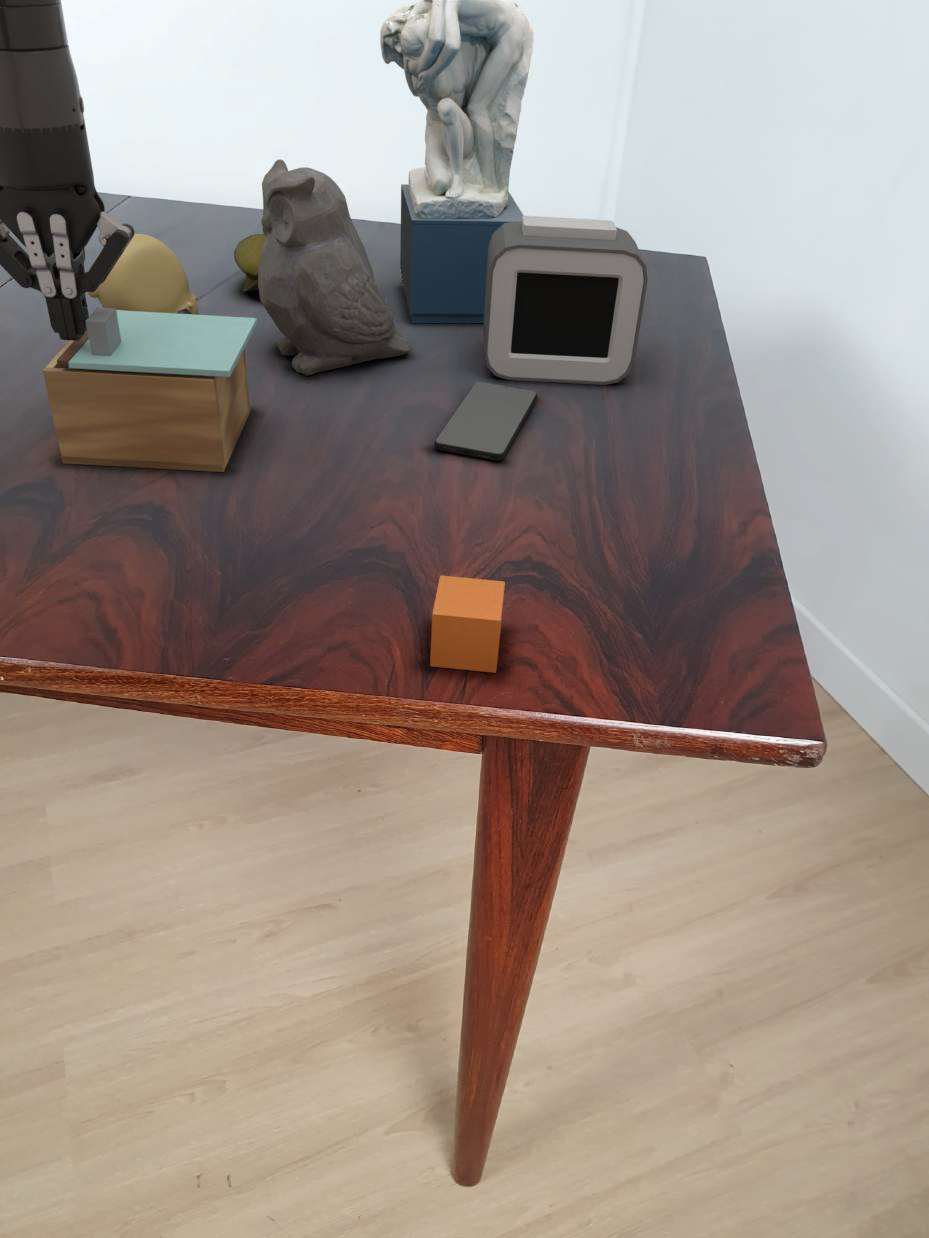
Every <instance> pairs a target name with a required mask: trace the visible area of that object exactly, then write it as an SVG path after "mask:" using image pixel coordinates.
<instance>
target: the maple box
mask: <svg viewBox="0 0 929 1238" xmlns="http://www.w3.org/2000/svg"><path fill="white" fill-rule="evenodd" d="M73 341H74V340H68V341H67V343H66V344H65V345H64V346H63V347H62V349H60V351H58V353H57V354H56V355H55V356H54V357H53V359H52V360H51V361H50V362H48V364H47V365H46V366H45V367H44V368H43V369H42V374H43V379H44V383H45V388H46V392H47V397H48V401H49V406H50V411H51V415H52V420H53V424H54V429H55V433H56V434H55V435H56V439H57V443H58V448H59V452H60V456H61V457H60V458H61V460H62V461H61V462H62V464H67V465H68V464H69V465H88V466H106V467H122V468H123V467H125V468H142V469H159V470H160V469H161V470H180V471H195V472H196V471H198V472H216V473H224V472H225V470H226V468H227V466H228V463H229V461H230V459H231V456H232V454H233V452H234V450H235V447H236V445H237V442H238V441H239V438H240V436H241V434H242V431H243V429H244V427H245V425H246V422H247V421H248V418H249V416H250V414H251V405H250V395H249V394H250V392H249V382H248V370H247V360H246V349H244V350H243V352H242V354H241V356H240V358H239V360H238V362H237V364H236V366H235V368H234V370H233V372H232V374H231V376H230V377H218V376H200V375H182V374H164V373H146V372H129V371H111V370H93V369H75V368H58V364H57V359H58V358H59V357H60V356H61V355H62V354H63V352H64V351H65V350H66V349H67V348H68V347H69V346H70V345H71V344H72V342H73Z"/></svg>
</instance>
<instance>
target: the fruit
mask: <svg viewBox="0 0 929 1238" xmlns="http://www.w3.org/2000/svg"><path fill="white" fill-rule="evenodd" d="M265 238H266V236H265V234H264V233H254V234H251V235H249V236H247V237H245V238H243V239H242V240H240V241H239V242H237V244H236V247H235V248H234V251H233V258H234V262H235V264H236V265H237V267H238V268H239V270H240V271H242V273H244V274H245V277H244V283H245V285H243V292H253V291H259V288H258V270H259V258H260V255H261V252H262V249H263V246H264V243H265ZM245 289H246V290H247V291H246V290H245Z"/></svg>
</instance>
